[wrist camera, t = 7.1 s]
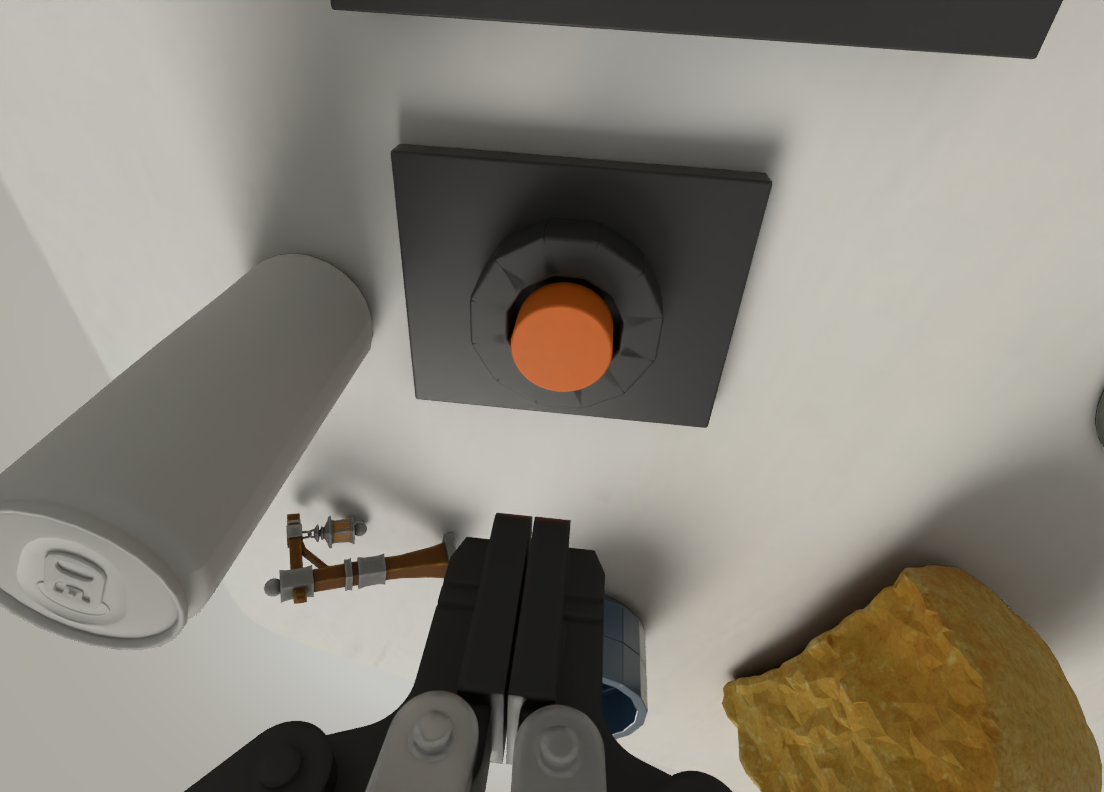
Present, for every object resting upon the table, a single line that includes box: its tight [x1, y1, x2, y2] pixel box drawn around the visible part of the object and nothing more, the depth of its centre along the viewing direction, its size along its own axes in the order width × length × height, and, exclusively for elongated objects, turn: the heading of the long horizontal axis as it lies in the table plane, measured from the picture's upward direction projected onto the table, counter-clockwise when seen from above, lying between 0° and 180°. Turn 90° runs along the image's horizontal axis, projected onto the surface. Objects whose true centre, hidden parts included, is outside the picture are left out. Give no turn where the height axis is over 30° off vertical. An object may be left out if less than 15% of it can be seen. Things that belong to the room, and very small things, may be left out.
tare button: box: [511, 282, 613, 392], centre depth 18 cm, size 3×3×2 cm
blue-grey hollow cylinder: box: [602, 596, 648, 739], centre depth 30 cm, size 6×6×4 cm
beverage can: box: [0, 253, 373, 650], centre depth 17 cm, size 5×5×12 cm
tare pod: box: [391, 144, 772, 428], centre depth 20 cm, size 11×9×2 cm
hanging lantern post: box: [264, 514, 456, 604], centre depth 27 cm, size 2×8×4 cm, turn 77°
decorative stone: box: [722, 565, 1102, 792], centre depth 27 cm, size 13×15×15 cm
